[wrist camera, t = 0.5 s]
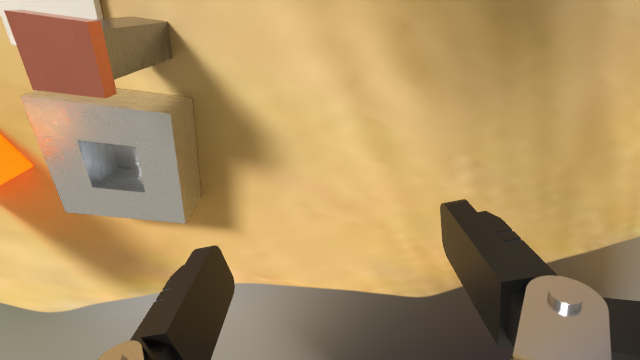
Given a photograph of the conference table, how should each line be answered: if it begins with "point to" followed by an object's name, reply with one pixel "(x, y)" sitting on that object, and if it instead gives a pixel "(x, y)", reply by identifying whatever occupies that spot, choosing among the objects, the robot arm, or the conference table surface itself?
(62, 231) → the conference table surface
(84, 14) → the pad
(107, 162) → the block
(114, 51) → the key
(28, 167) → the orange juice
